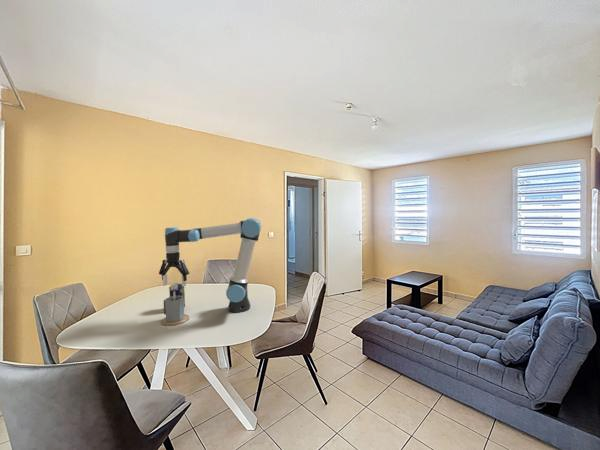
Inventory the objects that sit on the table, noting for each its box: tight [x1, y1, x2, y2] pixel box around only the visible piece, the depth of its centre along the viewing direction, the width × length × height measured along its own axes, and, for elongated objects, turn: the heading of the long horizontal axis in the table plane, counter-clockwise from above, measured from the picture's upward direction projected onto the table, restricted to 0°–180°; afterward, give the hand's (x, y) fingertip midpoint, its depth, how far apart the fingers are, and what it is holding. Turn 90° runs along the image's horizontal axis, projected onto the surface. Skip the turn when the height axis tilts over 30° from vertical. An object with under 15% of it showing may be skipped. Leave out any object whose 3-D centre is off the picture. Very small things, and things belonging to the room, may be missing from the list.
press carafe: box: [160, 296, 190, 327], centre depth 157 cm, size 16×16×14 cm
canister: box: [169, 283, 186, 308], centre depth 176 cm, size 10×10×18 cm
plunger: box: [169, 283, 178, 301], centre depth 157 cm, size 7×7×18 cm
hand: (174, 285), depth 156 cm, fingers open, 13 cm apart
